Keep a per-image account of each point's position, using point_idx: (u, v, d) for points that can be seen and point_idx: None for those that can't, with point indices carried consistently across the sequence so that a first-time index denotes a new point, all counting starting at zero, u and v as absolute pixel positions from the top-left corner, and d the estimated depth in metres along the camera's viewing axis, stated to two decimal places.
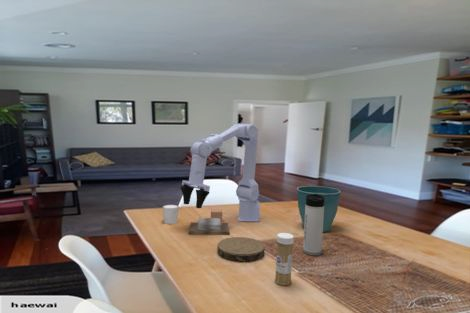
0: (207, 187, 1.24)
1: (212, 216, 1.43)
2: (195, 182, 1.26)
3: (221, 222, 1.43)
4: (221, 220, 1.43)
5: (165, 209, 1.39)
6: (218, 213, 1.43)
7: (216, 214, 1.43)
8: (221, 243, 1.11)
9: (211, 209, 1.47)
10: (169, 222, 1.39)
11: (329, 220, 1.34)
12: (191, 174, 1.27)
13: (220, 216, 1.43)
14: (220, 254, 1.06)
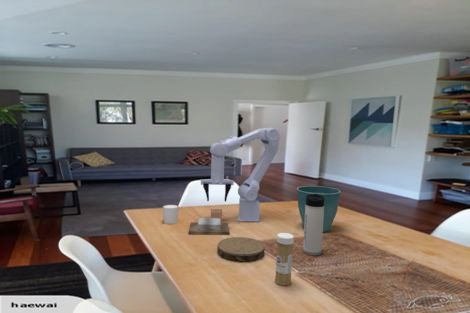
0: (233, 182, 1.44)
1: (212, 216, 1.43)
2: (221, 179, 1.42)
3: (221, 222, 1.43)
4: (221, 220, 1.43)
5: (165, 209, 1.39)
6: (218, 213, 1.43)
7: (216, 214, 1.43)
8: (221, 243, 1.11)
9: (211, 209, 1.47)
10: (169, 222, 1.39)
11: (329, 220, 1.34)
12: (217, 173, 1.41)
13: (220, 216, 1.43)
14: (220, 254, 1.06)
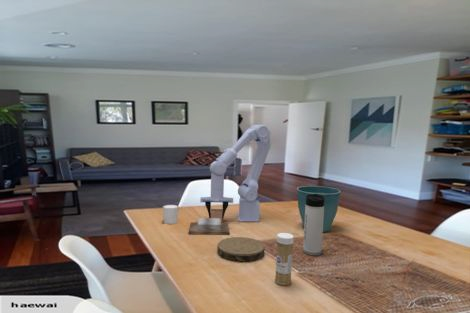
0: None
1: (212, 216, 1.43)
2: (221, 197, 1.43)
3: (221, 222, 1.43)
4: (221, 220, 1.43)
5: (165, 209, 1.39)
6: (218, 213, 1.43)
7: (216, 213, 1.43)
8: (221, 243, 1.11)
9: (211, 209, 1.47)
10: (169, 222, 1.39)
11: (329, 220, 1.34)
12: (216, 192, 1.42)
13: (220, 216, 1.43)
14: (220, 254, 1.06)
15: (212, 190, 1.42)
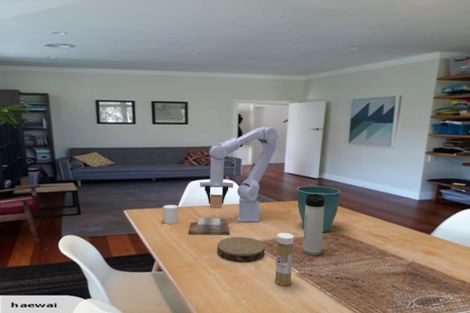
0: None
1: (212, 201, 1.41)
2: (221, 182, 1.41)
3: (221, 207, 1.41)
4: (221, 205, 1.41)
5: (165, 209, 1.39)
6: (218, 198, 1.41)
7: (216, 199, 1.41)
8: (221, 243, 1.11)
9: None
10: (169, 222, 1.39)
11: (329, 220, 1.34)
12: (216, 176, 1.40)
13: (220, 201, 1.41)
14: (220, 254, 1.06)
15: (212, 174, 1.41)
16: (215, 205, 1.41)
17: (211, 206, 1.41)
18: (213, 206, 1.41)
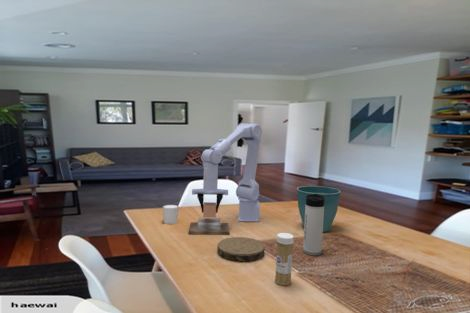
0: None
1: (205, 210, 1.30)
2: (215, 189, 1.30)
3: (215, 216, 1.31)
4: (215, 214, 1.31)
5: (165, 209, 1.39)
6: (211, 206, 1.30)
7: (210, 207, 1.30)
8: (221, 243, 1.11)
9: (204, 202, 1.35)
10: (169, 222, 1.39)
11: (329, 220, 1.34)
12: (210, 183, 1.29)
13: (214, 210, 1.31)
14: (220, 254, 1.06)
15: (205, 181, 1.30)
16: (209, 213, 1.31)
17: (204, 215, 1.31)
18: (206, 215, 1.31)
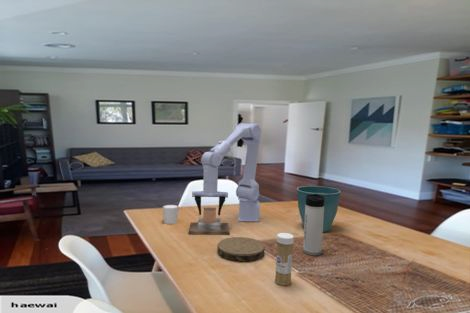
0: None
1: (205, 215, 1.31)
2: (215, 192, 1.30)
3: (215, 221, 1.31)
4: (215, 219, 1.31)
5: (165, 209, 1.39)
6: (211, 212, 1.31)
7: (210, 212, 1.31)
8: (221, 243, 1.11)
9: (204, 207, 1.35)
10: (169, 222, 1.39)
11: (329, 220, 1.34)
12: (210, 185, 1.29)
13: (213, 215, 1.31)
14: (220, 254, 1.06)
15: (205, 183, 1.30)
16: (208, 219, 1.31)
17: (204, 220, 1.31)
18: (206, 220, 1.31)
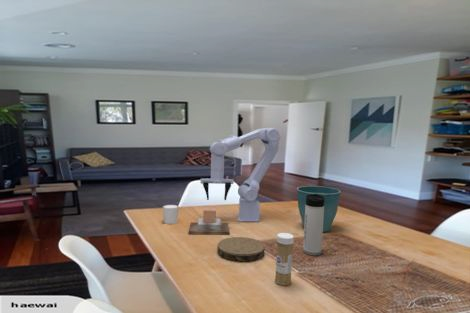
0: None
1: (205, 215, 1.31)
2: (221, 178, 1.42)
3: (215, 221, 1.31)
4: (215, 219, 1.31)
5: (165, 209, 1.39)
6: (211, 212, 1.31)
7: (210, 212, 1.31)
8: (221, 243, 1.11)
9: (204, 207, 1.35)
10: (169, 222, 1.39)
11: (329, 220, 1.34)
12: (217, 172, 1.41)
13: (213, 215, 1.31)
14: (220, 254, 1.06)
15: (212, 171, 1.42)
16: (208, 219, 1.31)
17: (204, 220, 1.31)
18: (206, 220, 1.31)
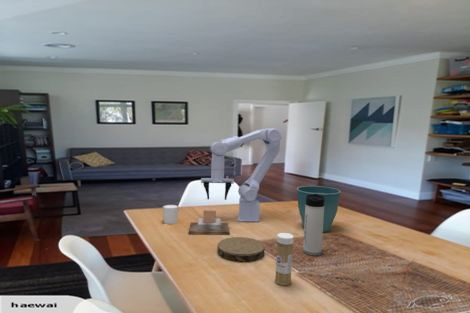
0: (233, 180, 1.45)
1: (205, 215, 1.31)
2: (221, 178, 1.43)
3: (215, 221, 1.31)
4: (215, 219, 1.31)
5: (165, 209, 1.39)
6: (211, 212, 1.31)
7: (210, 212, 1.31)
8: (221, 243, 1.11)
9: (204, 207, 1.35)
10: (169, 222, 1.39)
11: (329, 220, 1.34)
12: (217, 172, 1.42)
13: (213, 215, 1.31)
14: (220, 254, 1.06)
15: (213, 170, 1.43)
16: (208, 219, 1.31)
17: (204, 220, 1.31)
18: (206, 220, 1.31)
